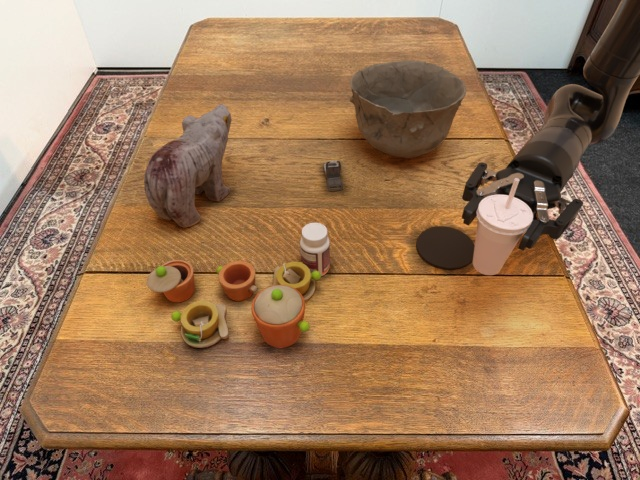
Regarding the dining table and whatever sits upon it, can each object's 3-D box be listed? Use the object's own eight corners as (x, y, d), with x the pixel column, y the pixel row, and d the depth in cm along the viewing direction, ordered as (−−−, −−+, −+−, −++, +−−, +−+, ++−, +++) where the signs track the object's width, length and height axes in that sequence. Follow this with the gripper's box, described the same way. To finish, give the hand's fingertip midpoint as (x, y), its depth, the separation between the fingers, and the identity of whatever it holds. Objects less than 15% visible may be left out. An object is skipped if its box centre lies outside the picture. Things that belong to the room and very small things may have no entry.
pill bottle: (323, 253, 81) (322, 217, 75) (334, 273, 78) (334, 236, 72) (297, 261, 79) (294, 225, 74) (307, 281, 76) (305, 245, 70)
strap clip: (323, 166, 98) (322, 149, 95) (337, 165, 99) (337, 148, 96) (328, 192, 92) (328, 174, 89) (343, 190, 93) (344, 173, 90)
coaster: (475, 233, 84) (475, 230, 84) (474, 274, 77) (475, 272, 77) (418, 224, 86) (418, 222, 85) (413, 264, 79) (413, 262, 78)
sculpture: (241, 168, 98) (231, 102, 87) (217, 238, 84) (201, 169, 73) (183, 165, 99) (166, 100, 88) (149, 234, 84) (124, 165, 74)
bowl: (332, 135, 106) (333, 71, 96) (412, 112, 113) (421, 50, 103) (385, 190, 93) (393, 122, 82) (472, 159, 100) (490, 93, 89)
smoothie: (517, 257, 64) (551, 175, 54) (504, 290, 60) (538, 208, 50) (470, 241, 66) (495, 159, 56) (455, 271, 62) (478, 189, 52)
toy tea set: (321, 271, 78) (320, 229, 71) (321, 354, 67) (320, 313, 60) (163, 272, 78) (147, 230, 71) (137, 354, 67) (116, 314, 60)
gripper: (501, 123, 66) (445, 184, 57) (611, 160, 59) (567, 235, 50) (488, 167, 71) (435, 228, 62) (587, 205, 65) (544, 280, 56)
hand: (494, 231), depth 56 cm, fingers closed on smoothie, 6 cm apart
